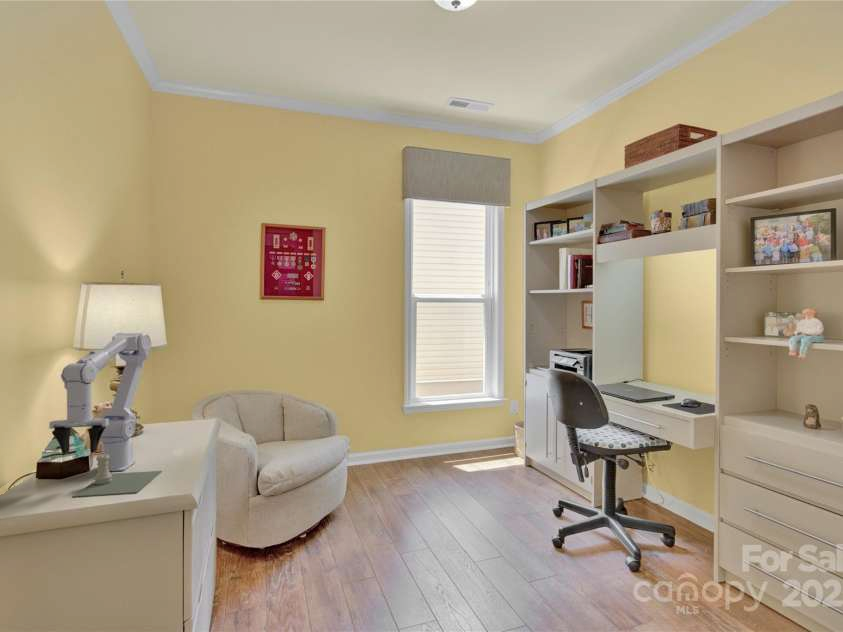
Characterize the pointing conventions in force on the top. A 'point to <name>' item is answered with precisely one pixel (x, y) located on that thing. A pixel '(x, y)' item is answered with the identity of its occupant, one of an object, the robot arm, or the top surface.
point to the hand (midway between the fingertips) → (79, 452)
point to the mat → (120, 484)
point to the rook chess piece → (102, 470)
